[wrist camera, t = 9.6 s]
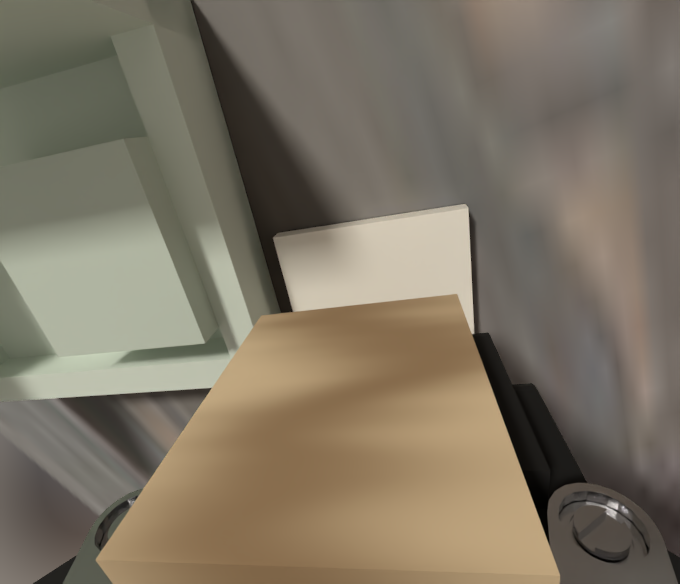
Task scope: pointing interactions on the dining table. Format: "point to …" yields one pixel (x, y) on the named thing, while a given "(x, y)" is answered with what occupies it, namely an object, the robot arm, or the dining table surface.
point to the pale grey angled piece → (118, 205)
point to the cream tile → (379, 260)
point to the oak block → (341, 463)
